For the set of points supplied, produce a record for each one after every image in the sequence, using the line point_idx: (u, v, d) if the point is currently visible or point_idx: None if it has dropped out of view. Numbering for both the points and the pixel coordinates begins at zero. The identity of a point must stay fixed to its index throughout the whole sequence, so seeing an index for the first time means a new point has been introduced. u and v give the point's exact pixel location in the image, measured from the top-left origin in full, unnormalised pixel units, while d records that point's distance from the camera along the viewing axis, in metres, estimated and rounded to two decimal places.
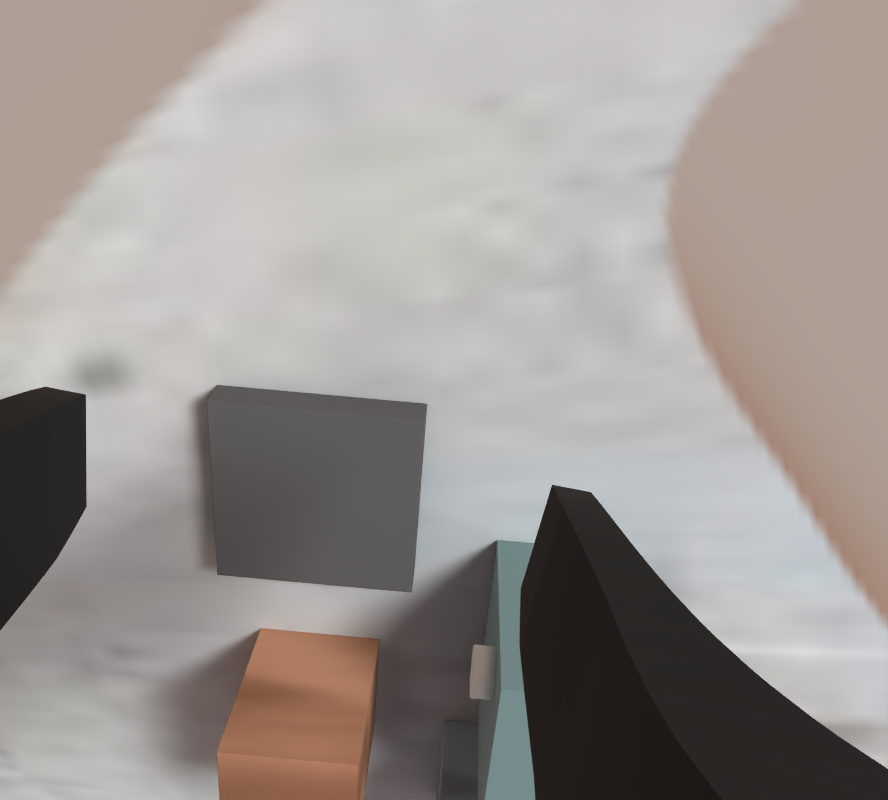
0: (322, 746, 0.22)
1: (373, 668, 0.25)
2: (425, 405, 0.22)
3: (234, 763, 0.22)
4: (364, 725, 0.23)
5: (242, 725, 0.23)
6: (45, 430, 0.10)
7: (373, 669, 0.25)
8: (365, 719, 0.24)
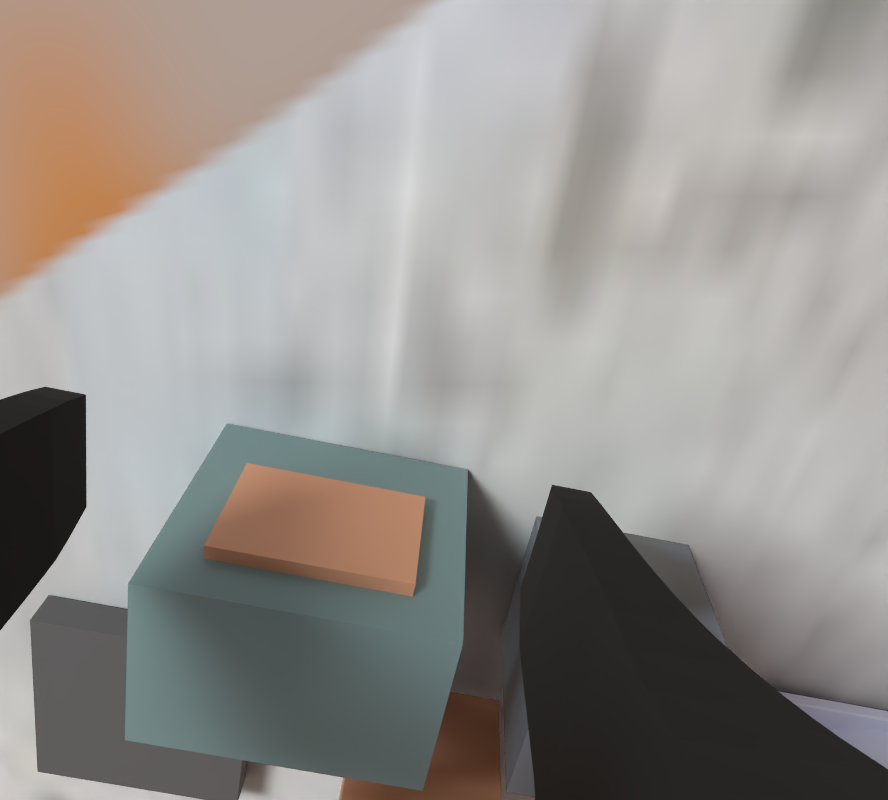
0: None
1: None
2: (46, 598, 0.22)
3: None
4: (345, 785, 0.20)
5: None
6: (44, 430, 0.10)
7: None
8: None
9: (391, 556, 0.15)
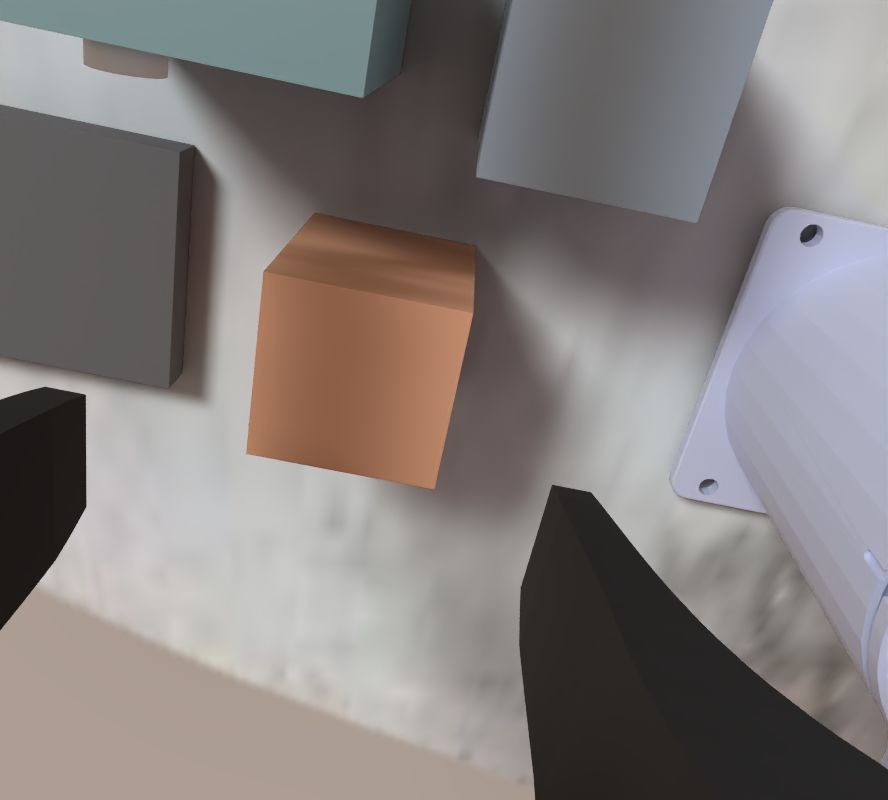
0: None
1: (304, 227, 0.18)
2: None
3: (267, 436, 0.16)
4: (283, 253, 0.16)
5: None
6: (44, 430, 0.10)
7: (304, 227, 0.18)
8: (285, 250, 0.16)
9: None
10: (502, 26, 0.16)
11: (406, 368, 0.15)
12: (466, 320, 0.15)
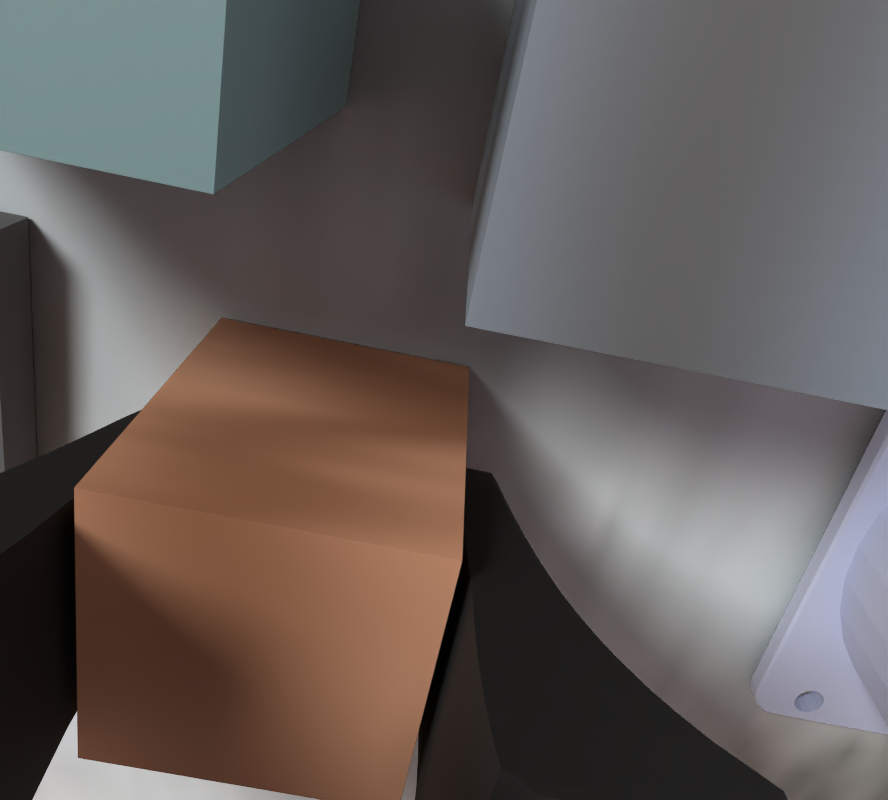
0: None
1: (193, 352, 0.11)
2: None
3: (110, 735, 0.09)
4: (133, 425, 0.09)
5: None
6: None
7: (194, 353, 0.11)
8: (141, 416, 0.09)
9: None
10: (512, 32, 0.09)
11: (345, 642, 0.09)
12: (449, 572, 0.08)
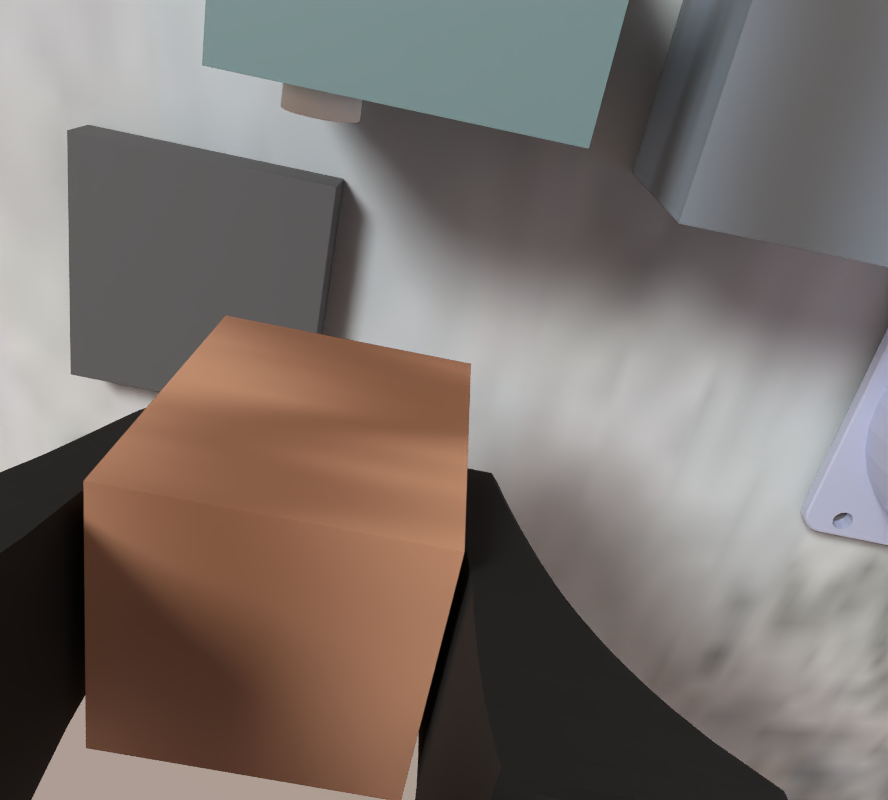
0: None
1: (198, 349, 0.11)
2: None
3: (118, 725, 0.10)
4: (140, 420, 0.09)
5: None
6: None
7: (199, 350, 0.11)
8: (148, 412, 0.10)
9: None
10: (679, 65, 0.16)
11: (348, 632, 0.09)
12: (452, 563, 0.08)
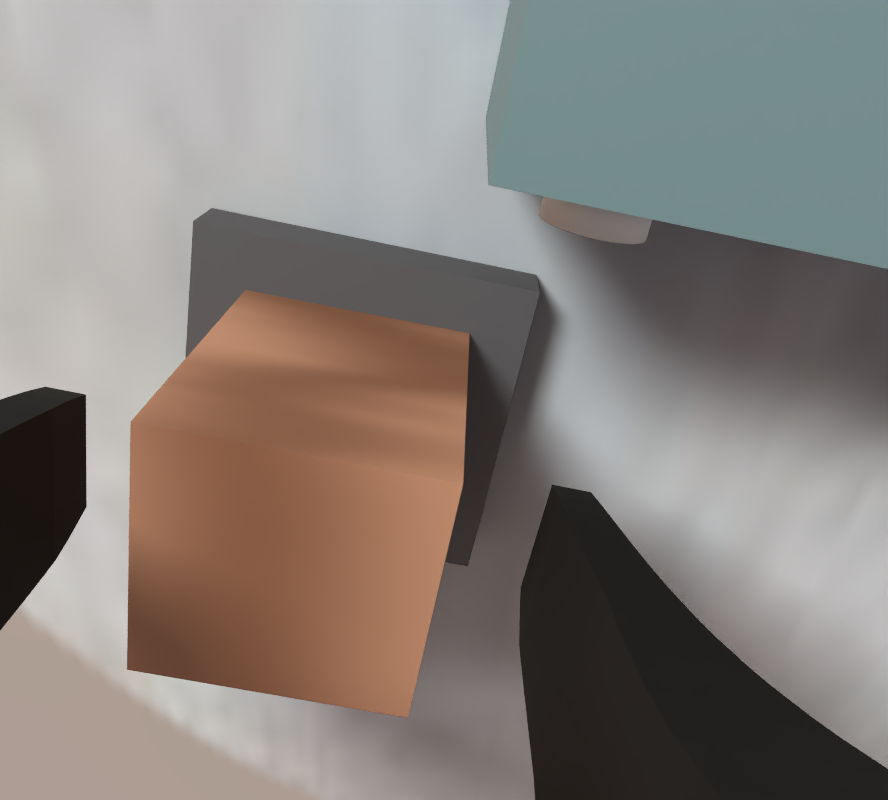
0: None
1: (222, 318, 0.13)
2: (209, 211, 0.14)
3: (156, 647, 0.11)
4: (176, 375, 0.11)
5: None
6: (44, 430, 0.10)
7: (223, 318, 0.13)
8: (181, 368, 0.11)
9: None
10: None
11: (361, 559, 0.10)
12: (452, 493, 0.09)
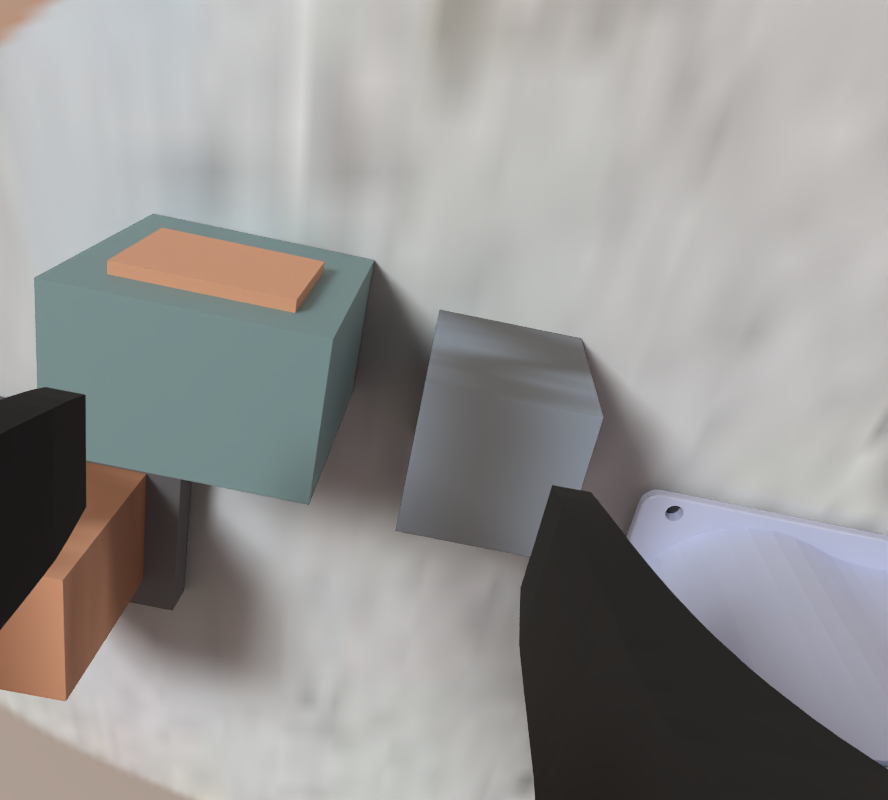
0: None
1: None
2: None
3: None
4: None
5: None
6: (45, 430, 0.10)
7: None
8: None
9: (280, 284, 0.17)
10: None
11: (21, 617, 0.19)
12: (58, 585, 0.19)
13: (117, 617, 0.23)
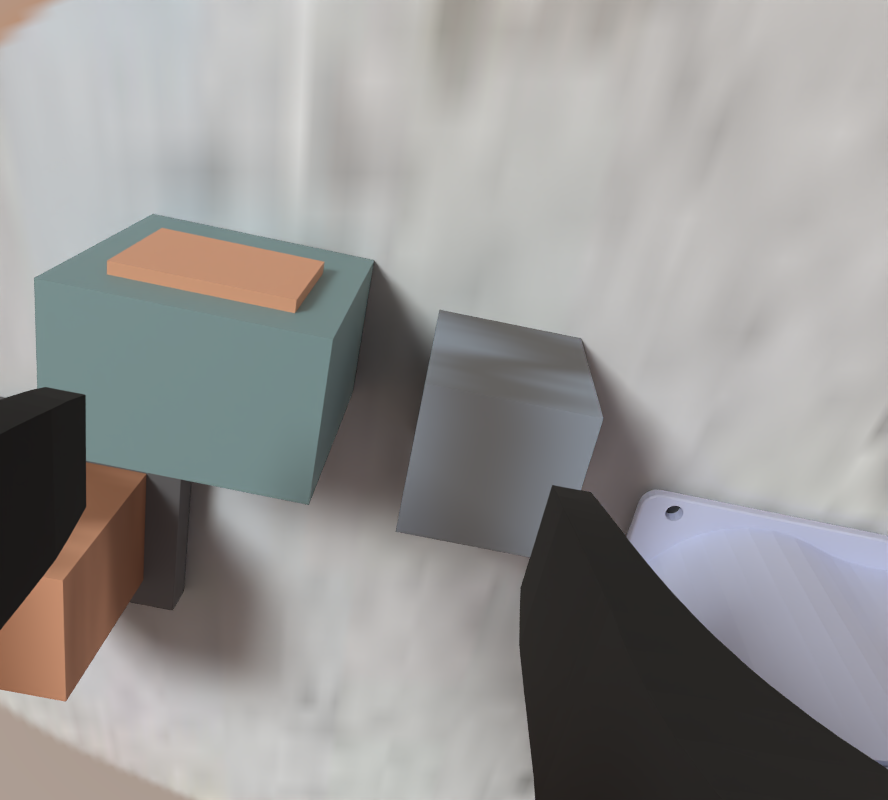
0: None
1: None
2: None
3: None
4: None
5: None
6: (44, 430, 0.10)
7: None
8: None
9: (280, 285, 0.17)
10: None
11: (21, 617, 0.19)
12: (58, 585, 0.19)
13: (117, 617, 0.23)
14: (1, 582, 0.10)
